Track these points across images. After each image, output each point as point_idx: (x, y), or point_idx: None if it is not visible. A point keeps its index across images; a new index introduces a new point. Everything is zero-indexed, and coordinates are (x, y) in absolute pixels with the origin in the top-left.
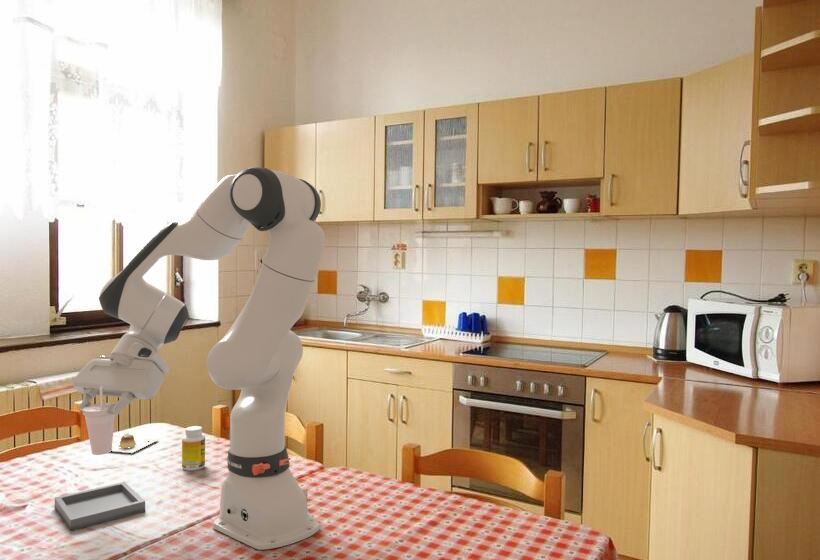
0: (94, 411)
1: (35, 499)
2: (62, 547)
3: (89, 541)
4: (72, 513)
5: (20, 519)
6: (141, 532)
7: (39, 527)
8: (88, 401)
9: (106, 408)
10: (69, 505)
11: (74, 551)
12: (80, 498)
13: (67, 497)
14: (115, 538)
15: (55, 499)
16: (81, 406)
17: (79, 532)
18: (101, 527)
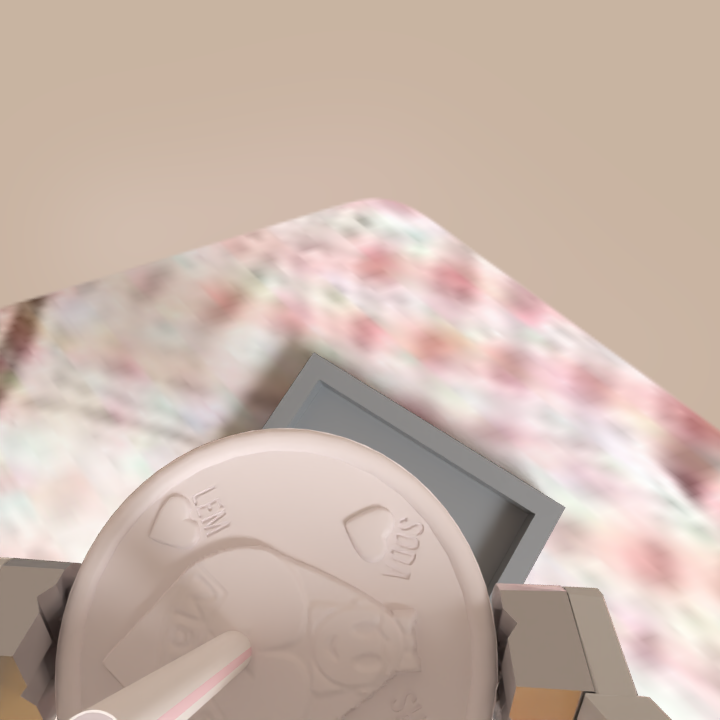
0: (198, 448)
1: (716, 555)
2: (254, 268)
3: (199, 325)
4: (354, 400)
5: (581, 381)
6: (67, 433)
7: (451, 352)
8: (515, 690)
9: (136, 621)
10: (485, 516)
11: (197, 260)
12: (491, 583)
13: (521, 537)
14: (128, 368)
15: (549, 498)
16: (558, 594)
17: (282, 366)
18: (234, 421)
